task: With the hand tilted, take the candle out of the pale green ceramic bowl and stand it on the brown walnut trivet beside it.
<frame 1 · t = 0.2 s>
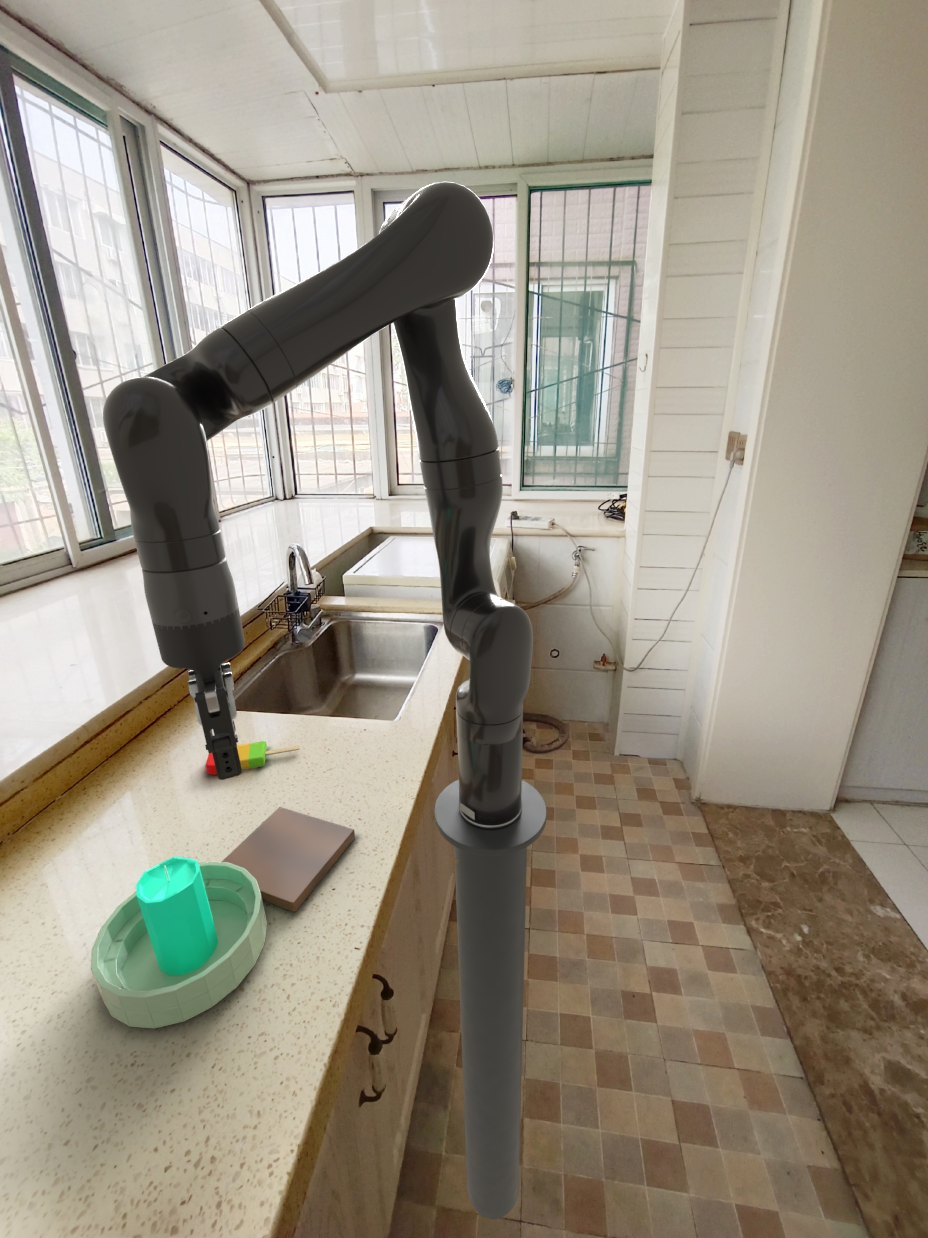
hand: (228, 753, 57), 22 cm above the counter, tool pointing down, fingers open, 8 cm apart
trivet: (287, 858, 72), on the counter
candle: (189, 951, 60), resting on bowl
bowl: (190, 953, 60), on the counter
popsicle: (255, 760, 93), on the counter
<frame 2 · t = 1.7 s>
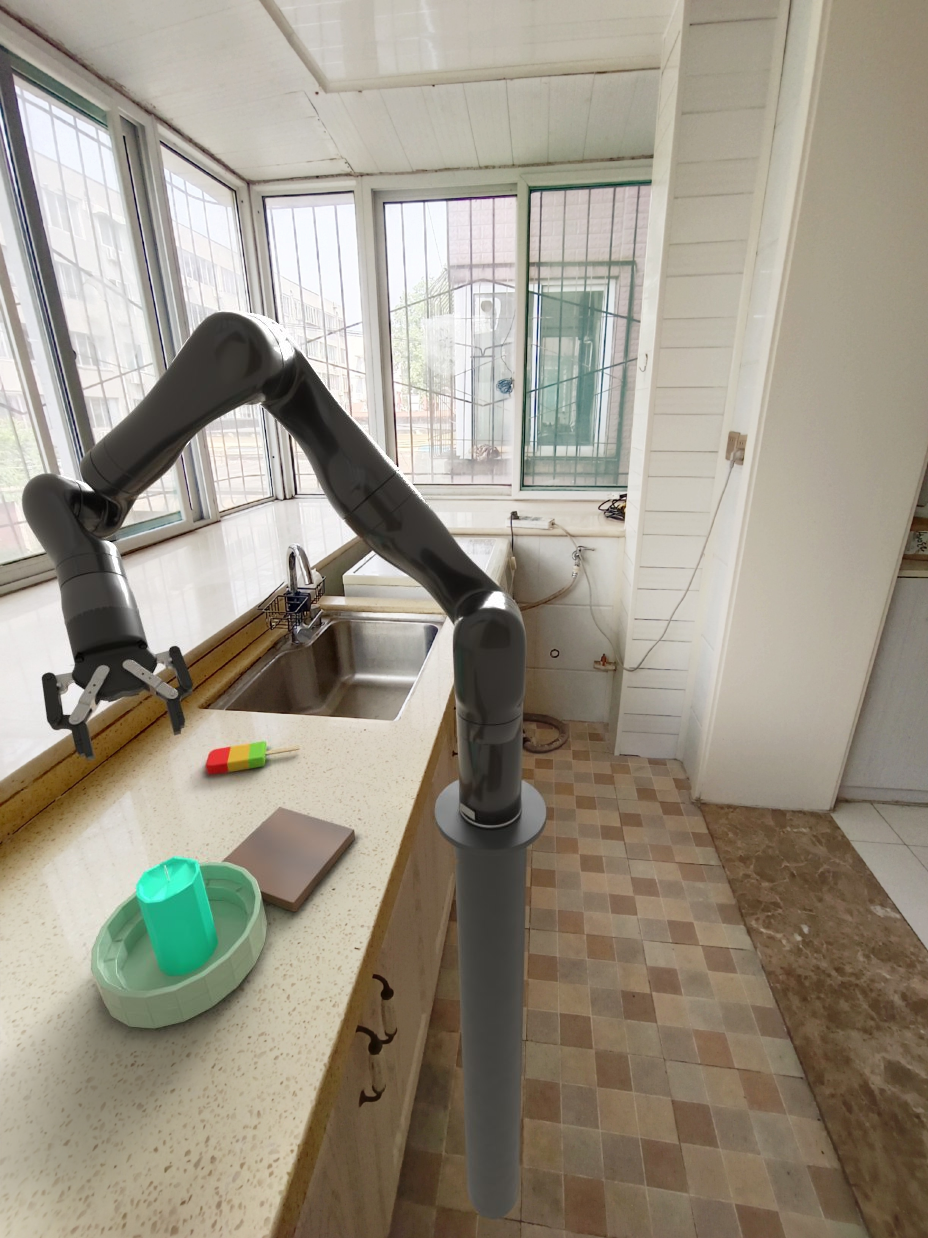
hand: (136, 745, 61), 21 cm above the counter, tool tilted 45°, fingers open, 8 cm apart
nothing on the counter moved.
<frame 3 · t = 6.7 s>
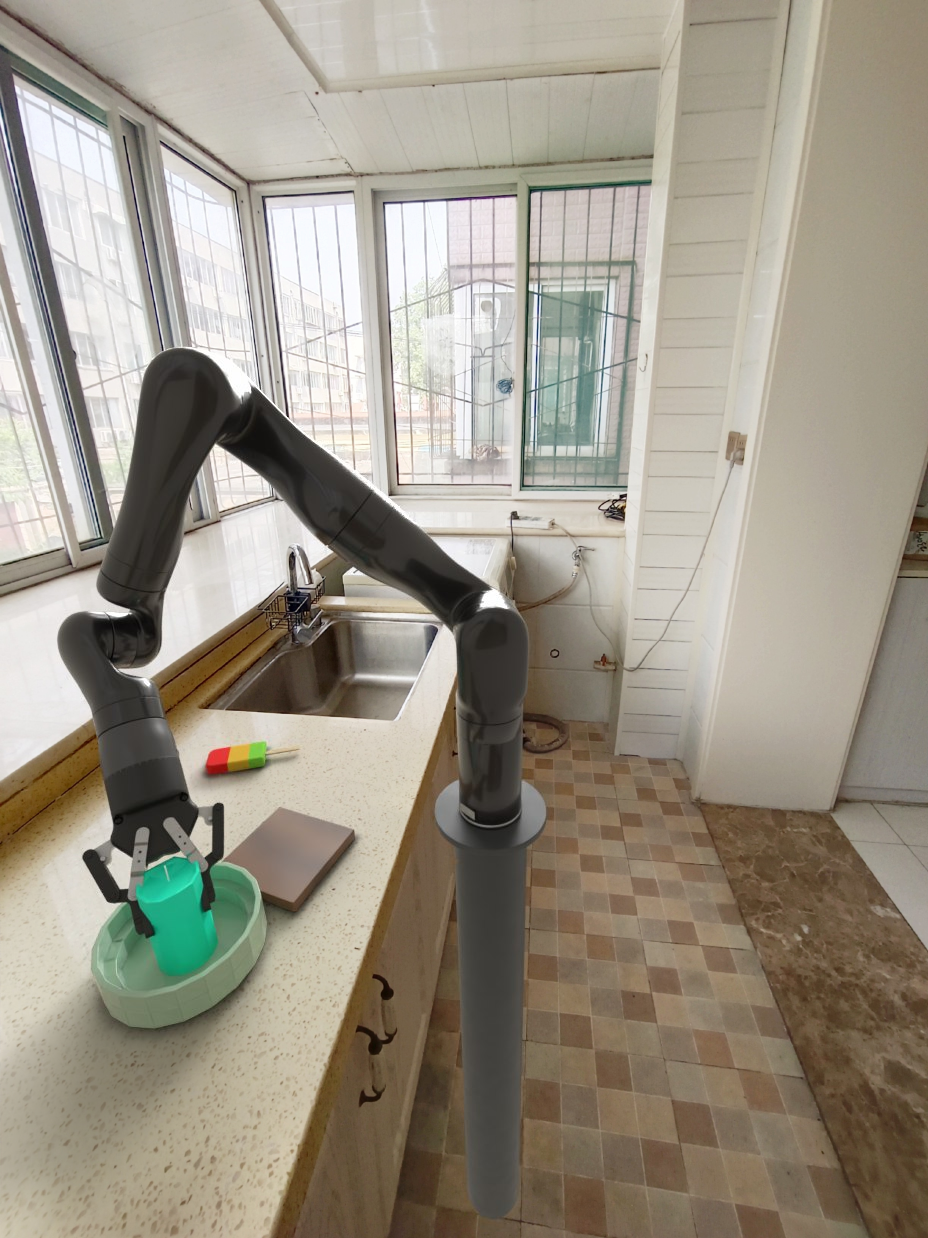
hand: (180, 922, 56), 7 cm above the counter, tool tilted 45°, fingers closed on candle, 4 cm apart
candle: (189, 951, 60), resting on bowl, touching gripper
everything else where it was.
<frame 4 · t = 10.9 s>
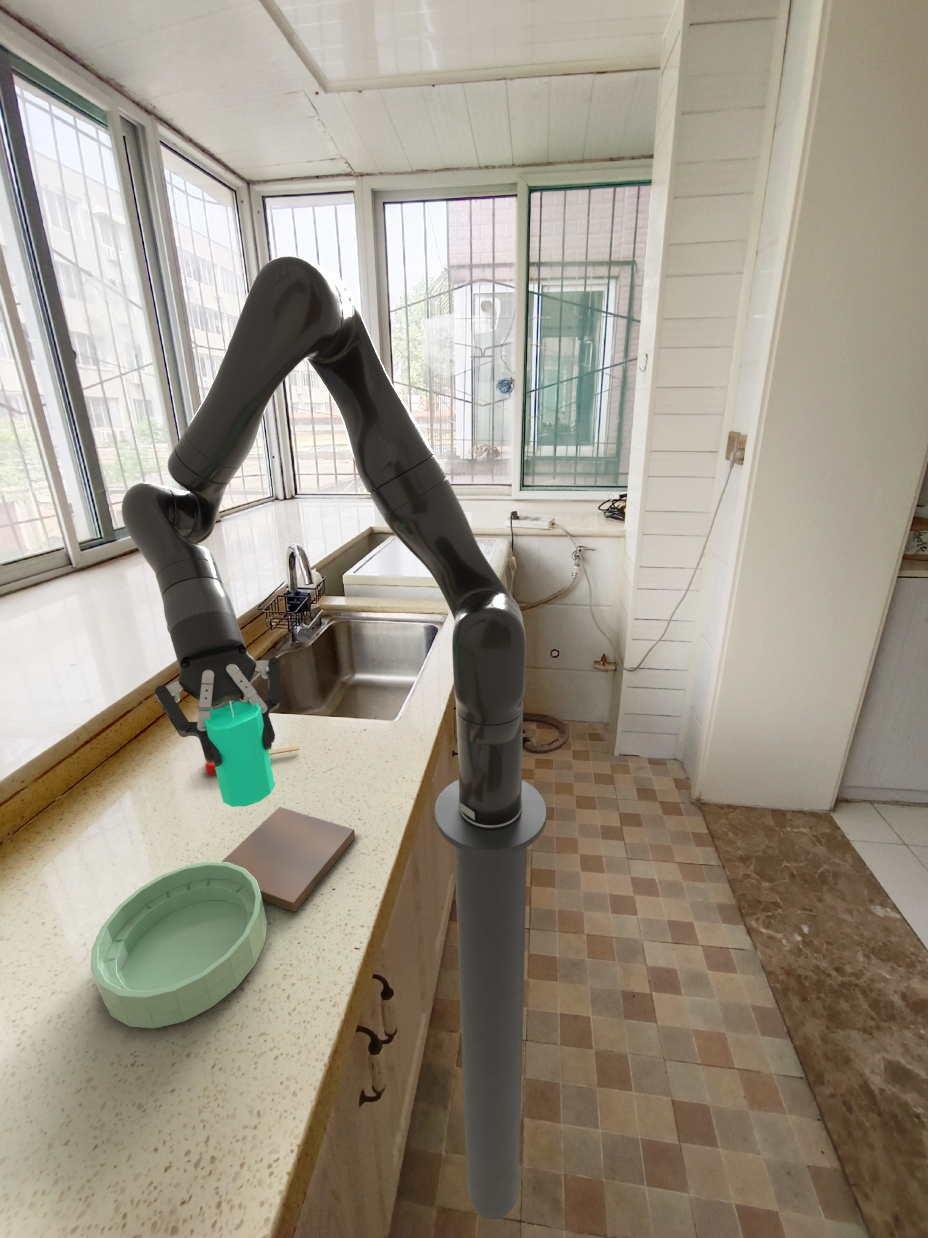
hand: (243, 755, 61), 20 cm above the counter, tool tilted 45°, fingers closed on candle, 4 cm apart
candle: (248, 791, 64), point 14 cm above the counter, touching gripper
everything else where it was.
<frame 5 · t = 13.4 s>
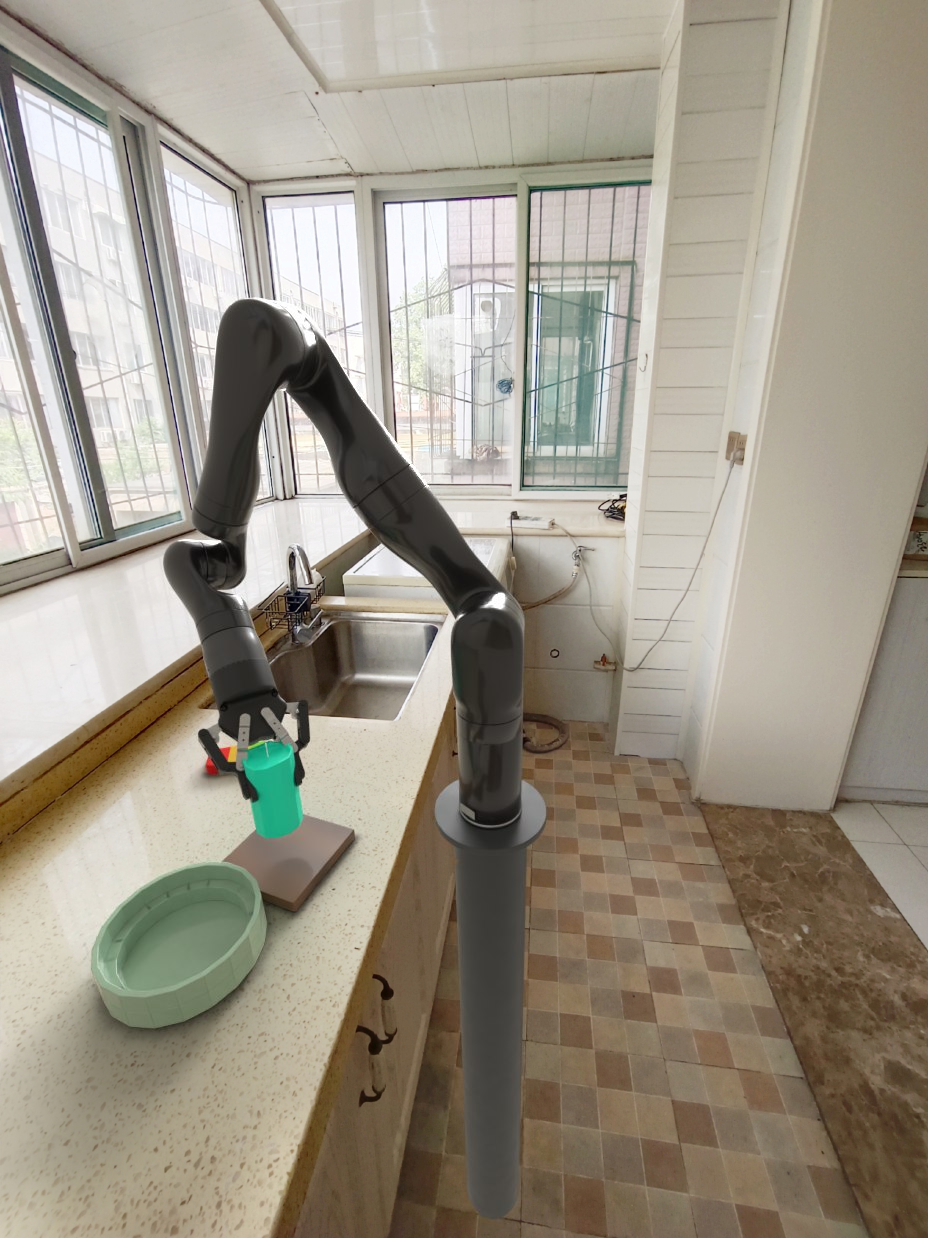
hand: (277, 792, 67), 12 cm above the counter, tool tilted 45°, fingers closed on candle, 4 cm apart
candle: (279, 822, 70), point 6 cm above the counter, touching gripper
everything else where it was.
when the fingers open (7 cm above the counter, at t = 15.2 s): candle stays where it is, resting on trivet.
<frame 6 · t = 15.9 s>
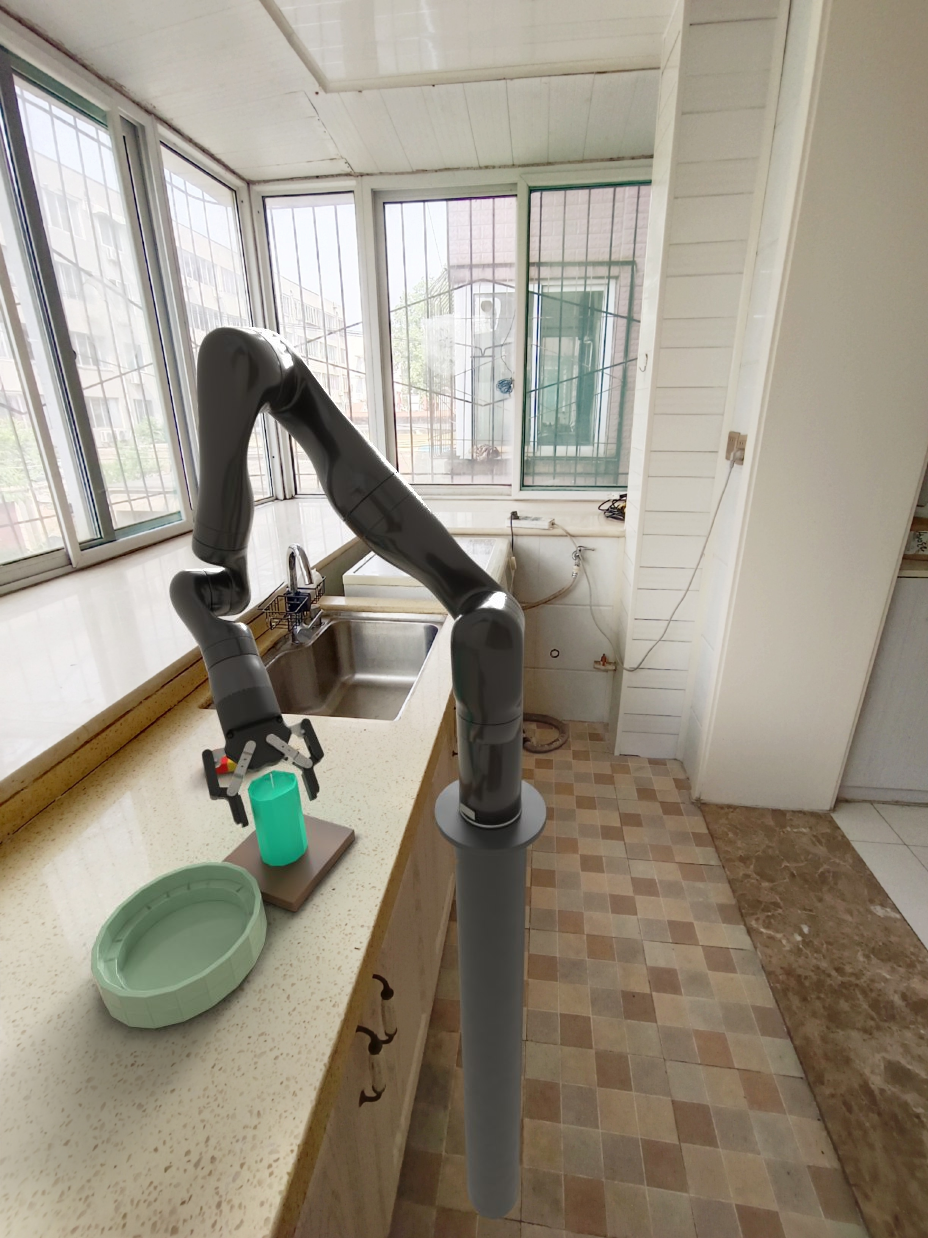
hand: (281, 812, 68), 9 cm above the counter, tool tilted 45°, fingers open, 8 cm apart
candle: (284, 850, 72), point 1 cm above the counter, touching trivet
everything else where it was.
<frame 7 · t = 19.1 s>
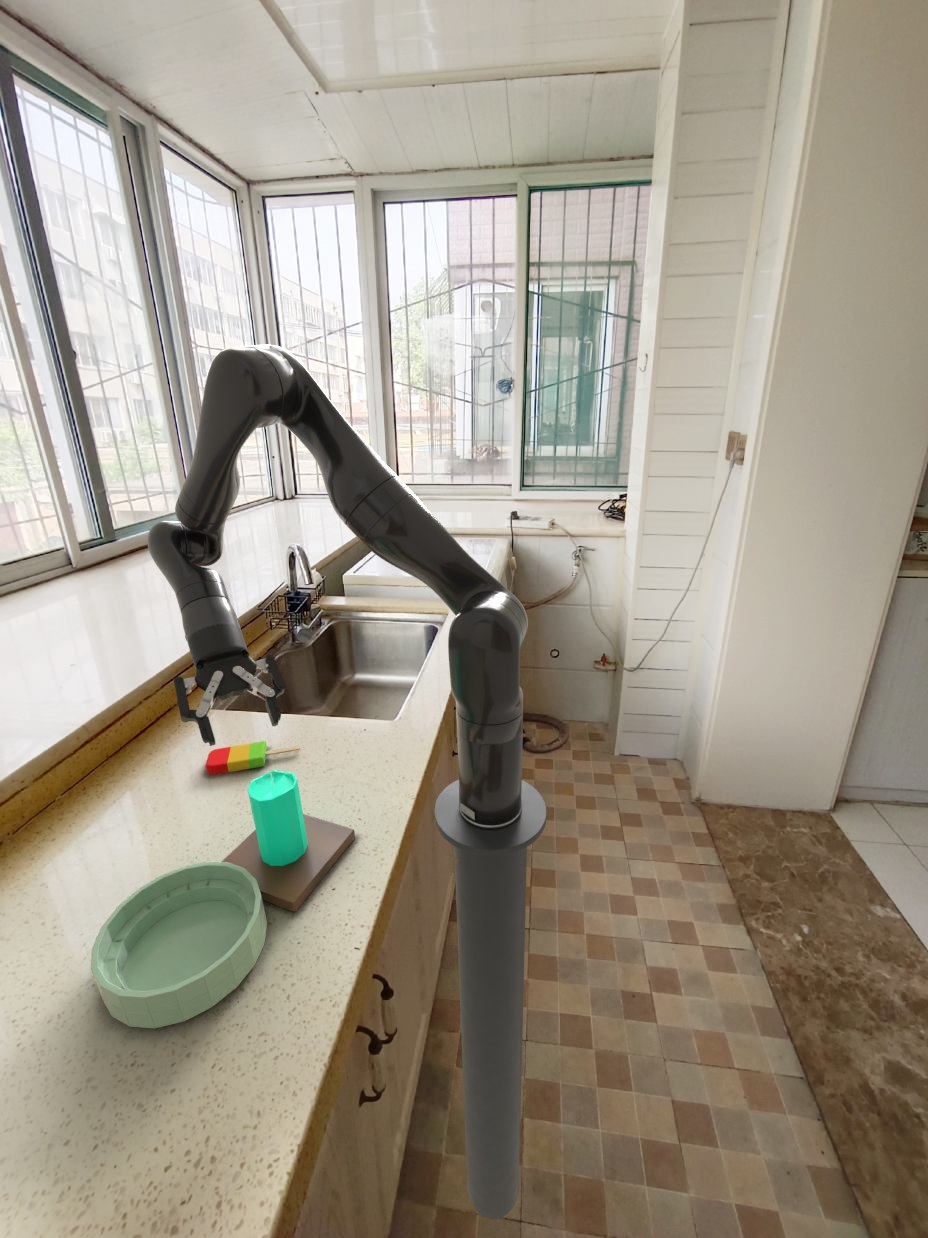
hand: (245, 734, 76), 14 cm above the counter, tool tilted 45°, fingers open, 8 cm apart
nothing on the counter moved.
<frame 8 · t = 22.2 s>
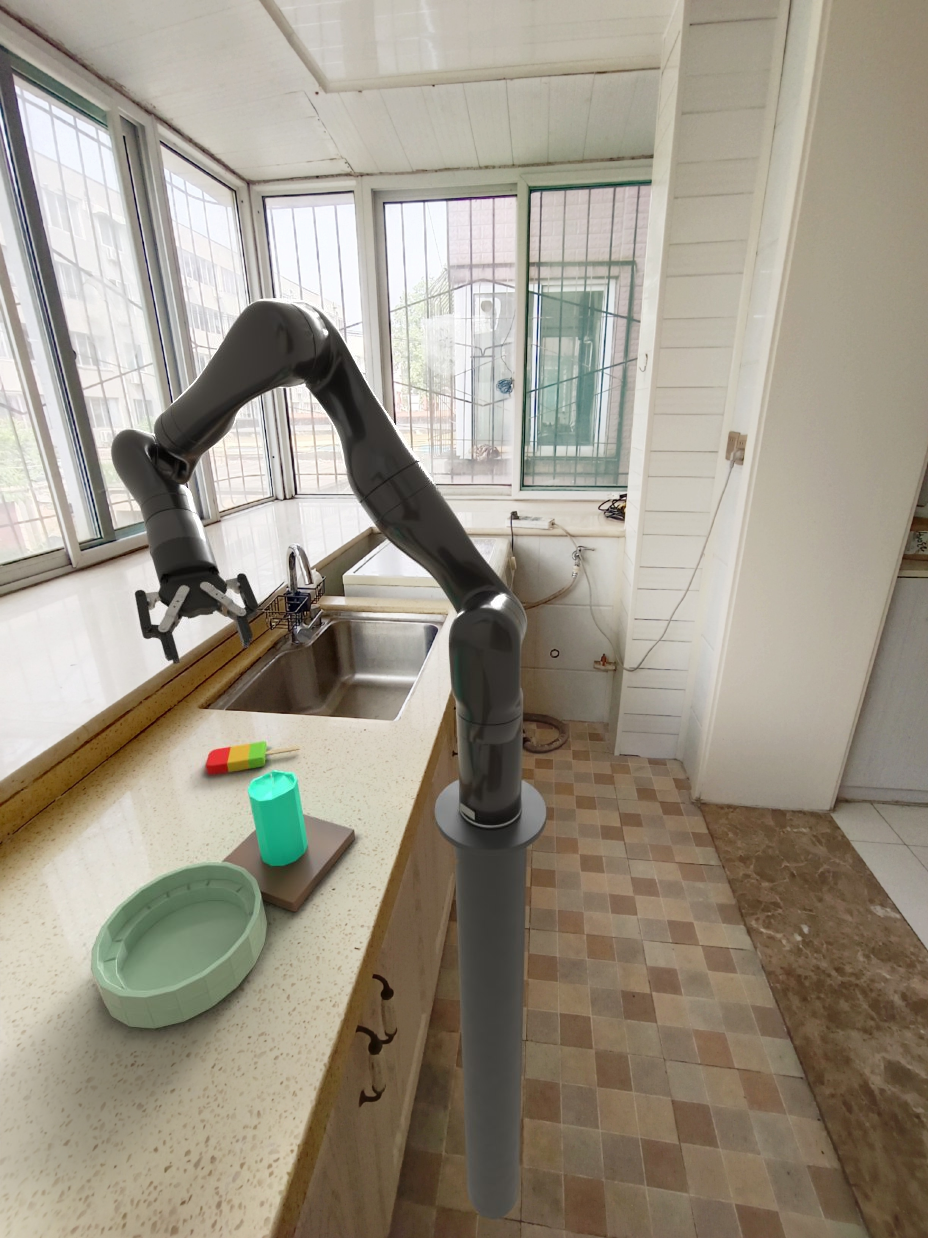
hand: (212, 653, 70), 27 cm above the counter, tool tilted 45°, fingers open, 8 cm apart
nothing on the counter moved.
at the end: candle inside the target area on the trivet (0.2 cm from its centre), point 1.3 cm above the trivet's base; candle tilted 0°; candle touching trivet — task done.
